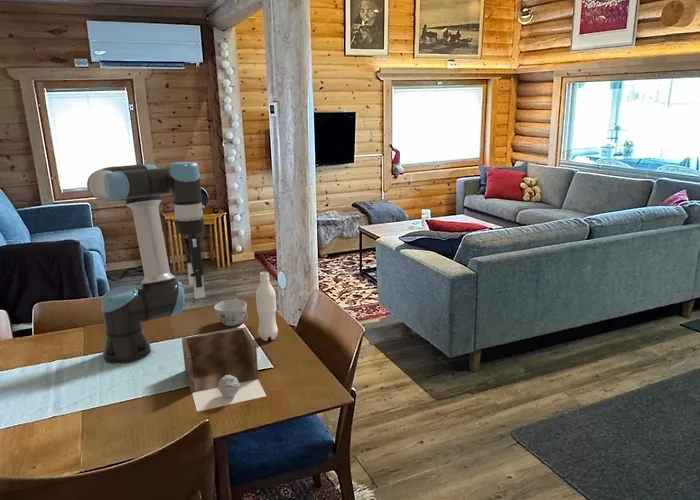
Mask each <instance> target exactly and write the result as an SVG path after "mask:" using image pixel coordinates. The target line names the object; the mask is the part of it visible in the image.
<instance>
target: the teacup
mask: <svg viewBox="0 0 700 500" xmlns="http://www.w3.org/2000/svg"><path fill="white" fill-rule="evenodd" d="M247 307H248V303H247V301H245V300H243V299H237V298H235V299H227V300H222V301H219V302H218V303H216V304H215V305H214V307H213V310H214V312H215V315H216V317H217V319H218V320H219V321H220V322H221V324H223V325H225V326H226V327H235V326H237V325H239V324H240V323H241V322H246V321H247V319H248V312H247Z"/></svg>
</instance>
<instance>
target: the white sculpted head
mask: <svg viewBox="0 0 700 500" xmlns="http://www.w3.org/2000/svg"><path fill="white" fill-rule="evenodd" d="M239 387H240V384H239V382H238V380H237V378H236V377H234V376H231V375H225V376H224V377H223V378H221V380H220V382H219V385H218V387H217V388H218V389H219V391H220V393H221V394H222V395H223V396H225V397H228V398H229V397H233V396H234V395H236V393H237V392H238V389H239Z"/></svg>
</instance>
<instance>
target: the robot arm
mask: <svg viewBox="0 0 700 500" xmlns="http://www.w3.org/2000/svg"><path fill="white" fill-rule="evenodd" d="M86 187H87V190H88V192H89V193H90V195H91V196H93V197H94V198H95V199H97V200H100V201H104V202H105V201H107V202H122V201H125V202H126V203H125V205H126V207H127V208H129V209H131V212H132V217H133V222H134V228H135V233H136V237H137V243H138V249H139V253H140V258H141V264H142V270H143V275H144V277H143V280H142V281H141V282H140V283H141V284H140V285H141V288H138V287H137V286H135V285H133V284H131V285H122V286H118V287H115V288H112V289H110V290H108V291H107V292H105V293H104V294H103V295H102V297H101V301H100V302H101V312H102V317H103V323H104V331H105V339H104V346H103V350H102V355H103V357H102V358H103V360H104V361H105V362H107V363H110V364H114V363H121V364H127V363H133V362H136V361H139V360H141V359H143V358H145V357H147V356H148V355H149V354H150V353H151V349H152V348H151V344H150V342H149V339H148V337H147V335H146V334H145V332H144V329H143V323H145V322H149V321H150V322H151V321H153V320H158V319H162V318H167V317H168V318H170V317H172V316H174V315H177V314H180V313H181V312H182V311H183V309H184V306H185V290H184V287H183V283H182V282H181V281H180V280H177V278H176V276H175V275H174V274H172V273H171V271H170V265H169V259H168V254H167V249H166V242H165V238H164V233H163V226H162V220H161V215H160V209H159V205H160V204H161V202H162V198H163V197H164V196H165V195H172V198H173V210H174V217H175V219H176V220H175V226H176V227H175V228H176V233H178V234H180V235H184V238H183V243H184V249H185V260H186V262H187V263H186V264H187V274H188V275H187V276H188V283H189V284H188V285H191V286H192V285H193V293H194V299H201V298H206V292H205V291H206V290H205V282H204V274H205V271H204V268H203V267H204V266H203V260H202V254H201V253H202V252H201V240H200V238H199V237H198V236H197V234H201V233H203V232H204V231H205V221H204V220H205V219H204V218H203V216H204V212H203V211H204V210H203V209H205V207H206V206H205V205H204V204H203V199H202V187H201V174H200V169H199V164H198V163H197V162H195V161H177V162H173V163H171V164H170V166H164V167H159V168H158V167H157V166H156V165H154V164H152V163H151V164H145V163H141V164H132V165H131V164H130V165H119V166H107V167H103V168H100V169H98V170H96V171H94V172H91V174H90V175H89V177H88V179H87V183H86Z"/></svg>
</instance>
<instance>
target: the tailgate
mask: <svg viewBox="0 0 700 500" xmlns="http://www.w3.org/2000/svg"><path fill="white" fill-rule="evenodd" d="M239 384H240V387H239V389H238V392H237V393H236V395H234V396H233V397H229V398H228V397H225V396H223V395H222V394H221V393H220V391H219V389H218V387H217V388H212V389H207V390H203V391H198V392H193V393H191V394H192V399H193V401H194V406H195V411H196V413H198V412H203V411H207V410H213V409H217V408H220V407H224V406H225V407H226V406H229V405H230V406H231V405H233V404H240V403H243V402H247V401H251V400H256V399H261V398H265V397H267V394H266V393H265V390H264V388H263V386H262V385H261V383H260V380H259V379H255V380H250V381H246V382H241V383H239Z"/></svg>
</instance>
